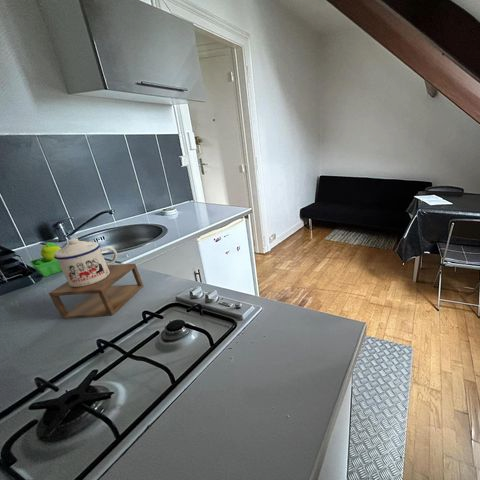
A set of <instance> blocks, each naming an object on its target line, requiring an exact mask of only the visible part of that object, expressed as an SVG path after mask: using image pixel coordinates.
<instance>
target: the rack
mask: <svg viewBox="0 0 480 480" xmlns="http://www.w3.org/2000/svg"><path fill="white" fill-rule="evenodd" d="M107 267H108V269H109V271H110V273H109V275H108V276H107V277H106V278H104V279H103V280H101V281H99V282H96V283H94V284H91V285H87V286H82V287H72V286H70V285H69V283H68V281H66V282H65V283H63V284H61V285H60V286H58V287H56V288H54V289H52V290H51V291H49V292H48V295H49V297H50V298H51V300H52V302H53V304H54V306H55V308H56V310H57V311H58V313H59V314H60V317H61V319H63V320H66V319H78V318H93V317H107V316H114V315H115V314H116V313H117V312H118V311H119V310H120V309H121V308H123V306H124V305H126V303H127V302H128V301H130V299H131V298H132V297H134V296H135V295H136V294H137V293H138V292H139V291H140V290H141V289H142V288H143V287H144V284H143V281H142V278H141V275H140V273H139V270H138V268H137V265H136V263H122V264H111V265H108V266H107ZM130 272H132V274H133V277H134V279H135V282H136V284H124V285H123V284H121V285H114V284H116V283H117V282H118V281H120V280H121V279H122V278H124V276H126V275H127V274H129V273H130ZM74 295H75V296H78V295H88V296H87V297H85V298H84V299H83V300H81V301H79V302H78V303H77V304H76V305H75V306H73V307H72V308H71V309H70V310H68V311H67V309H66V307H65V305H64V303H63V301H62V300H61V296H74Z"/></svg>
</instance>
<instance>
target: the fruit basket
mask: <svg viewBox="0 0 480 480" xmlns="http://www.w3.org/2000/svg"><path fill="white" fill-rule="evenodd" d="M59 249H62V247H60V246H58V245H57V244H55V243H54V242H47V243H45V245H43V246H42V247H41V250H40V256H41V257H40V258H37V259H33V260H29V264H30V265H31V266H32V267H33V268H34V269H35V270H37V272H38V273H39V274H40V275H42V277H43V278H45V277H49V276H51V275H54V274H58V273H60V272H63V271H62V269H61V267H60V265H59V263H58V261H57V259H55V258H54V253H55V252H56V251H58V250H59Z"/></svg>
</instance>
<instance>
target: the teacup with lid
mask: <svg viewBox="0 0 480 480" xmlns="http://www.w3.org/2000/svg"><path fill="white" fill-rule="evenodd" d="M106 251H111V252H112V253H113V255H114V256H113V258H112V259H111V260H110V261H107V262H106V260H105V257H104V255H103V253H104V252H106ZM54 258H55V259H57V261H58V263H59V265H60V267H61V269H62V271H61V272H62V273H63V275H64V277H65V279H66V282H68V283H69V285H70V286H72V287H82V286H87V285H91V284H94V283H96V282H99V281H101V280H103V279H104V278H106V277H107V276H108V275H109V273H110V271H109V269H108V267H107V266H108V265H114V263H115V262H117V259H118V252H117V250H116V249H115V248H114V247H109V246H107V247H102V248H101V245H100V244H99V243H98V242H96V241H85V240H79V239H78V238H75V237H74V238H70V239H68V241H67V244H65V245H64V246H63V247H61V249H59V250H58V251H56V252H55V253H54Z"/></svg>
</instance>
